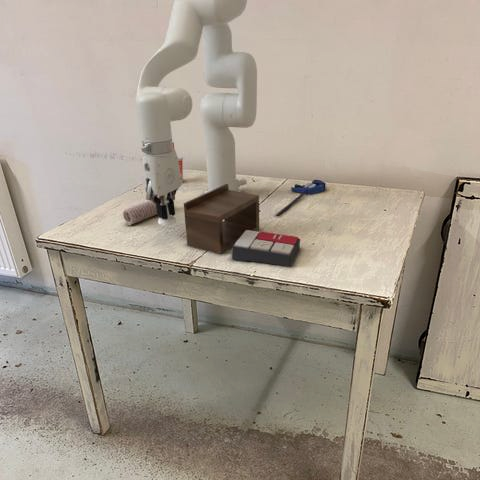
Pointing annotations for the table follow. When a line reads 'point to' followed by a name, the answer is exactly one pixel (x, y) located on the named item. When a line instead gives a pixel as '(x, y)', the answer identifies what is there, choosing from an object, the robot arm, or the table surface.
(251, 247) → the grey and red box
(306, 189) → the bar clamp
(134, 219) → the coil
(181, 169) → the beverage cup
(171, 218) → the chess piece
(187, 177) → the table surface
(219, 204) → the brown wooden cabinet
